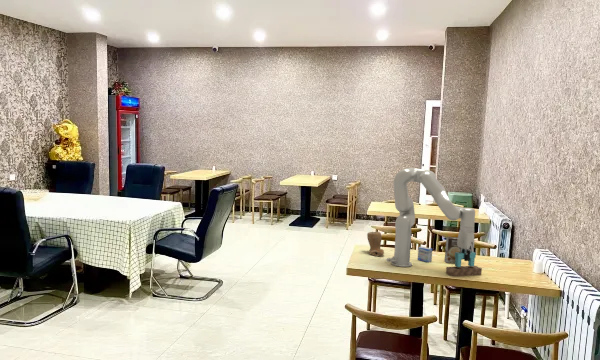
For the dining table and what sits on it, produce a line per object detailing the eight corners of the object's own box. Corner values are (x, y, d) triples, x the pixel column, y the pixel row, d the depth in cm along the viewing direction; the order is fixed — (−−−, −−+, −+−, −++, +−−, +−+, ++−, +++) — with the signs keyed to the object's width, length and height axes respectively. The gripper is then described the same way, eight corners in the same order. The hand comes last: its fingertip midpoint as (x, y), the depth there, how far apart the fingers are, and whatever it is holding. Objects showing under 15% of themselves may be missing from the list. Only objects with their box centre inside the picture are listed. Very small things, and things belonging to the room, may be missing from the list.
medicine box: (417, 260, 301) (418, 247, 301) (420, 259, 305) (421, 246, 304) (428, 262, 296) (429, 249, 295) (431, 261, 299) (432, 248, 299)
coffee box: (446, 263, 297) (448, 238, 295) (444, 260, 303) (446, 236, 302) (461, 264, 296) (463, 239, 295) (458, 261, 302) (460, 237, 301)
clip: (457, 267, 269) (458, 253, 269) (454, 265, 272) (455, 252, 271) (474, 266, 273) (475, 252, 272) (471, 264, 276) (472, 251, 275)
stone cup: (366, 250, 322) (367, 229, 320) (384, 252, 319) (385, 230, 318) (365, 255, 307) (366, 233, 306) (383, 257, 305) (385, 235, 303)
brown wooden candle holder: (452, 276, 267) (452, 269, 267) (445, 273, 273) (446, 266, 272) (481, 275, 273) (481, 268, 273) (474, 272, 279) (475, 265, 278)
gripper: (453, 226, 277) (451, 256, 279) (470, 232, 262) (468, 264, 263) (463, 226, 279) (461, 256, 281) (481, 231, 264) (479, 263, 265)
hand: (464, 259), depth 272 cm, fingers closed on clip, 3 cm apart
